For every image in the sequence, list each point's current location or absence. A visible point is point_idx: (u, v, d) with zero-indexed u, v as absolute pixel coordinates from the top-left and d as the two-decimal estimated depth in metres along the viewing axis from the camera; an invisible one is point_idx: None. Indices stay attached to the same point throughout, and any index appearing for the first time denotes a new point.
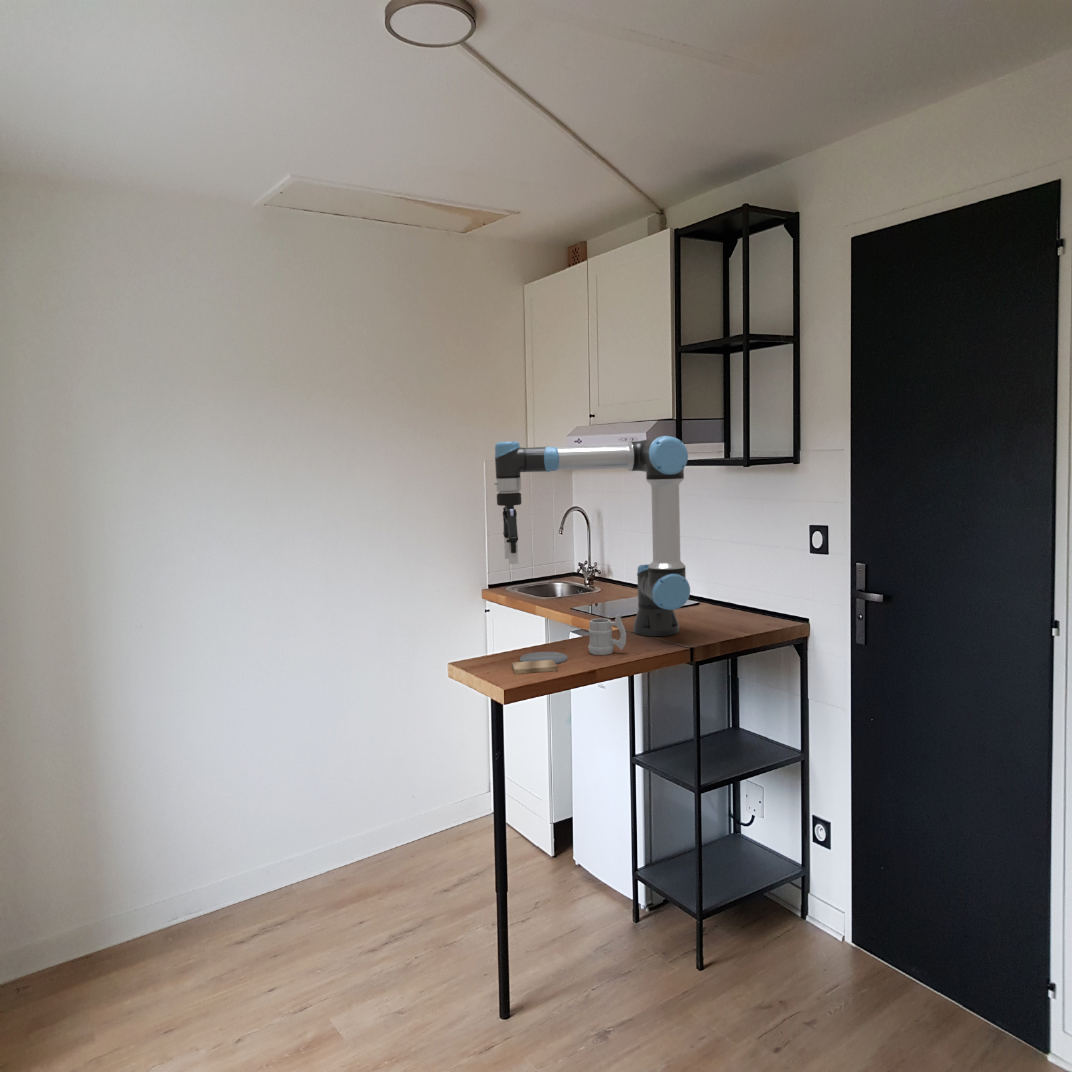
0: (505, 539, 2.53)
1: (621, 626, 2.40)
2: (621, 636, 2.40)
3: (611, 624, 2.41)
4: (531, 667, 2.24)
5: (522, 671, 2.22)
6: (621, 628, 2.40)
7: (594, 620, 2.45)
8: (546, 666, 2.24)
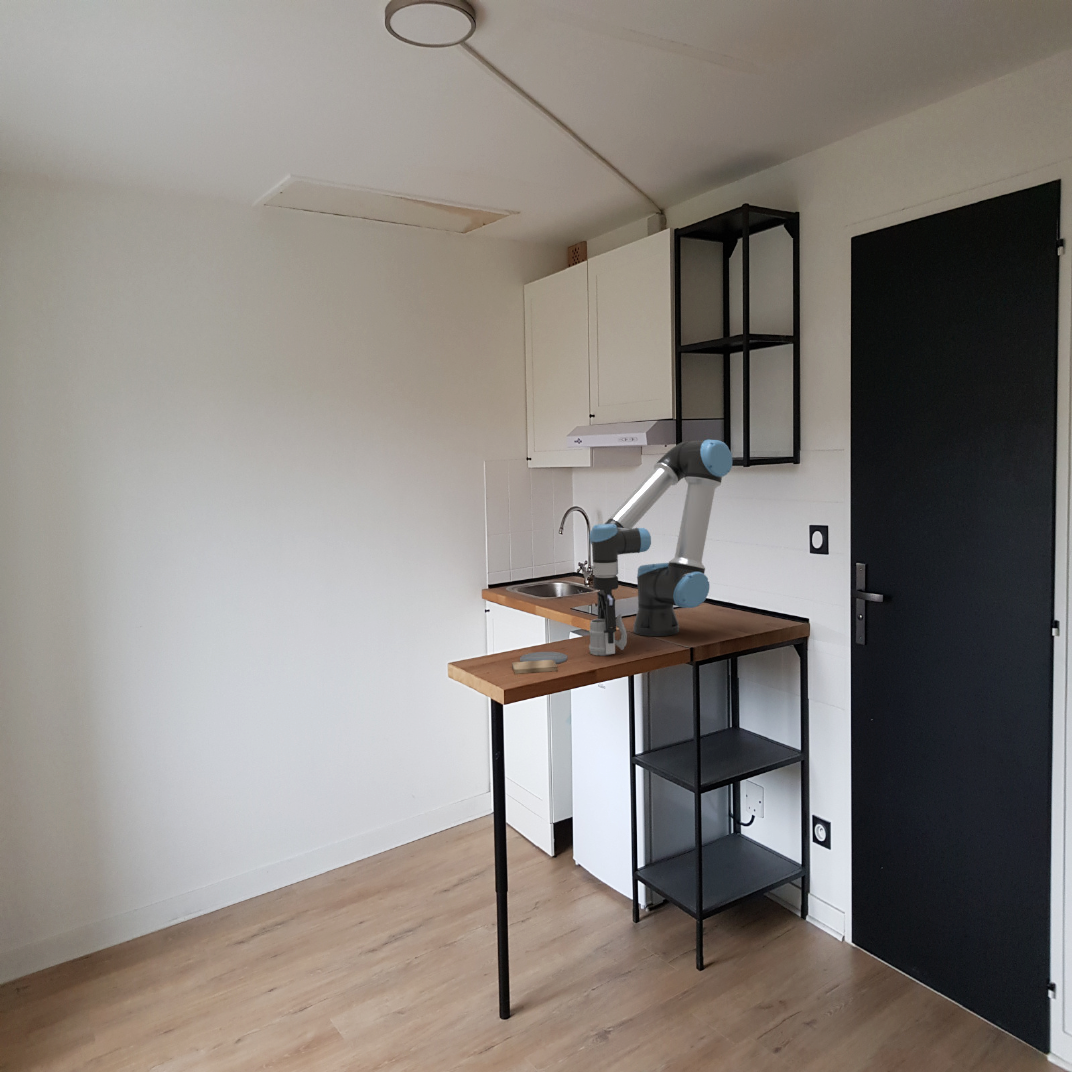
0: None
1: (622, 626, 2.39)
2: (622, 636, 2.40)
3: None
4: (531, 667, 2.24)
5: (522, 671, 2.22)
6: (622, 629, 2.39)
7: (594, 620, 2.44)
8: (546, 666, 2.24)
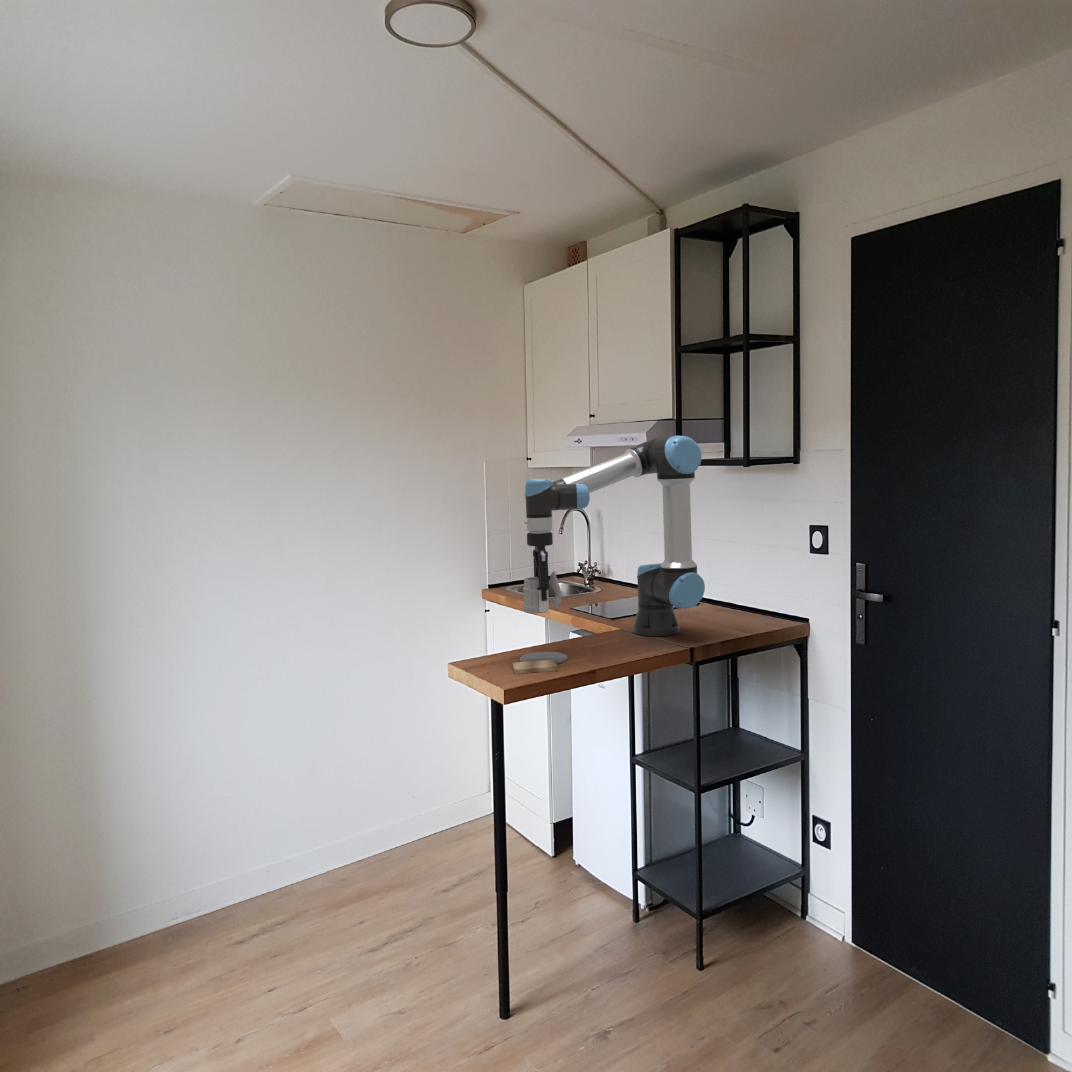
0: None
1: (556, 583, 2.32)
2: (556, 594, 2.33)
3: None
4: (531, 667, 2.24)
5: (522, 671, 2.22)
6: (556, 586, 2.33)
7: (529, 578, 2.37)
8: (546, 666, 2.24)
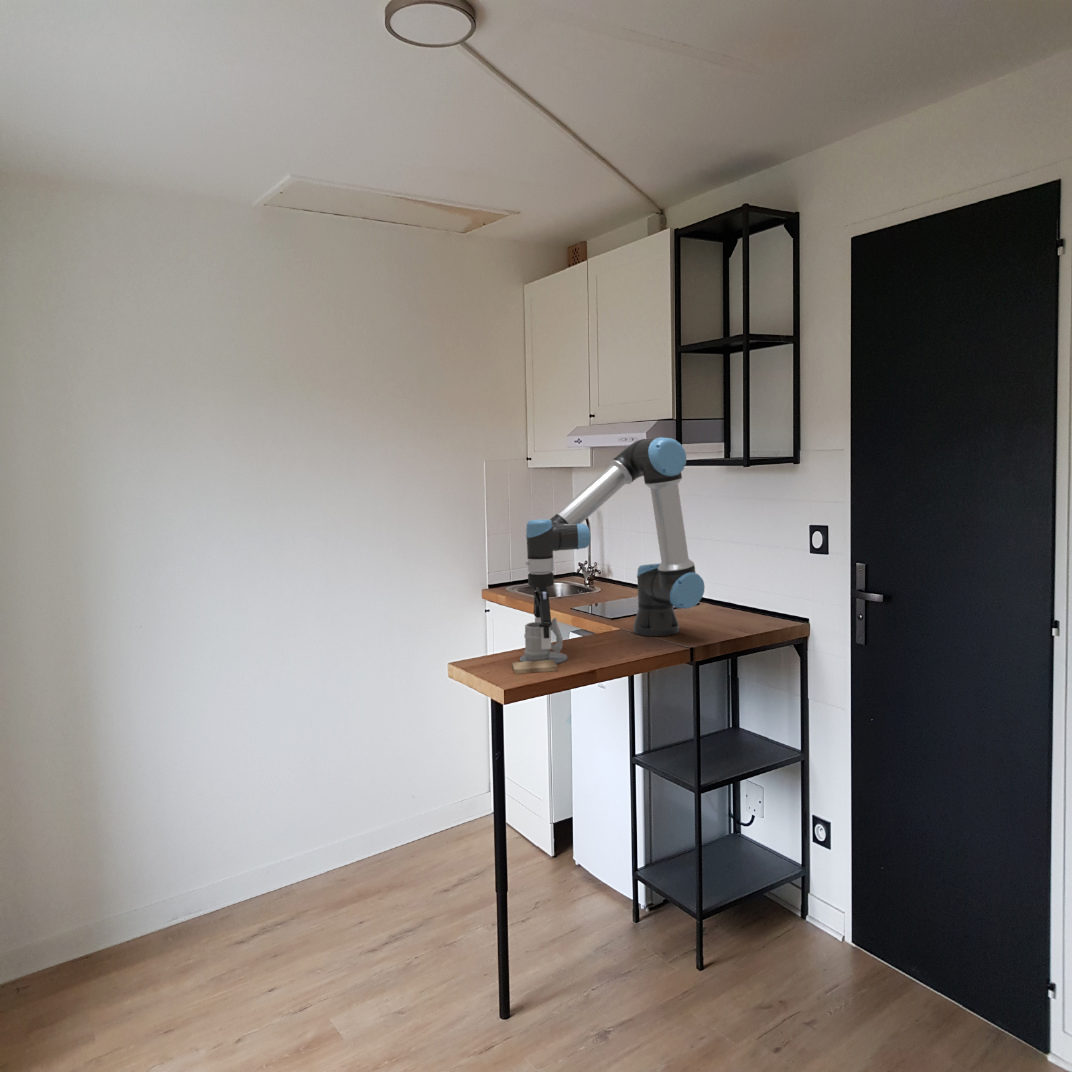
0: (536, 619, 2.42)
1: (557, 630, 2.33)
2: (557, 640, 2.34)
3: None
4: (531, 667, 2.24)
5: (522, 671, 2.22)
6: (557, 633, 2.33)
7: (530, 624, 2.38)
8: (546, 666, 2.24)
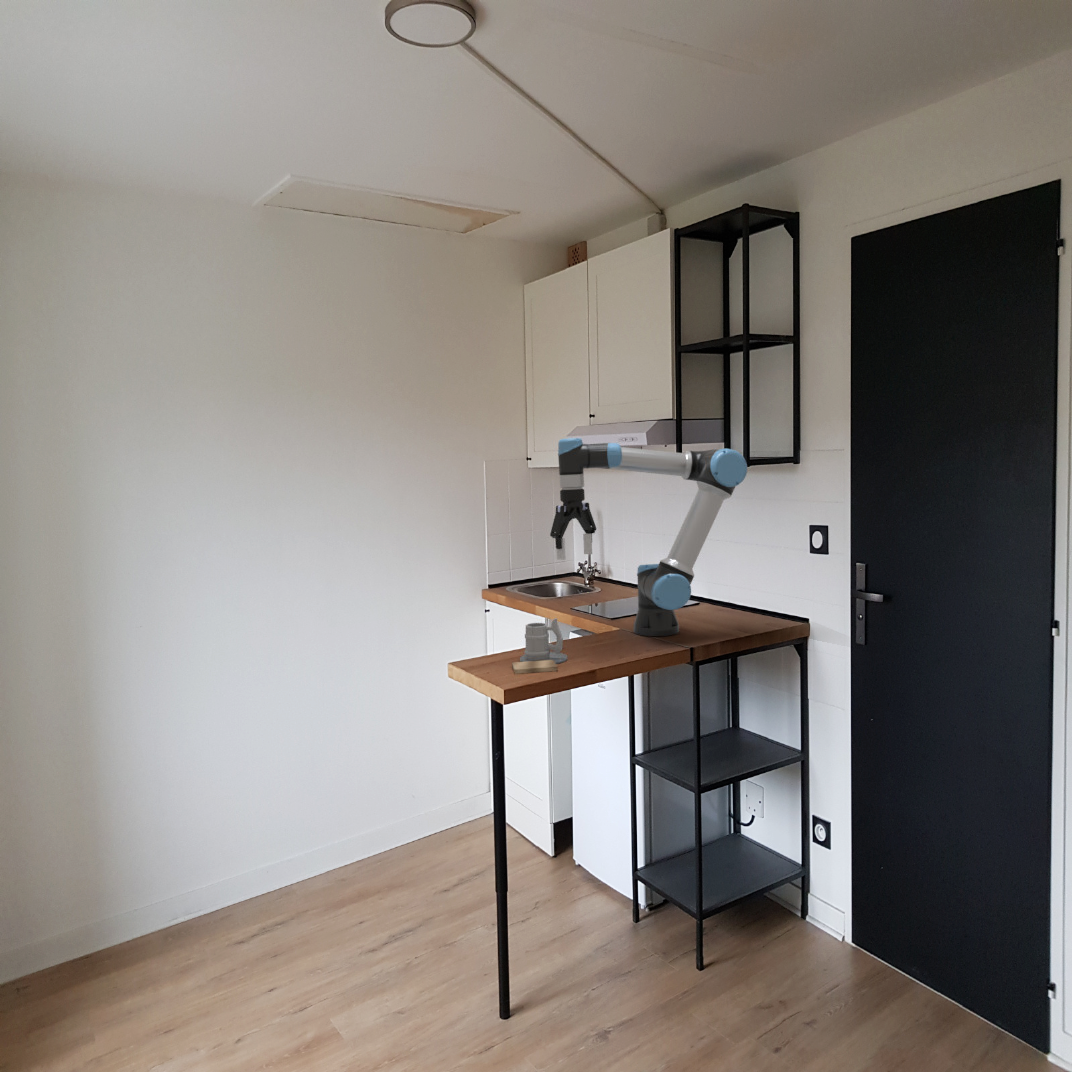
0: (584, 534, 2.54)
1: (557, 630, 2.34)
2: (557, 641, 2.34)
3: (547, 628, 2.35)
4: (531, 667, 2.24)
5: (522, 671, 2.22)
6: (557, 633, 2.34)
7: (530, 624, 2.38)
8: (546, 666, 2.24)
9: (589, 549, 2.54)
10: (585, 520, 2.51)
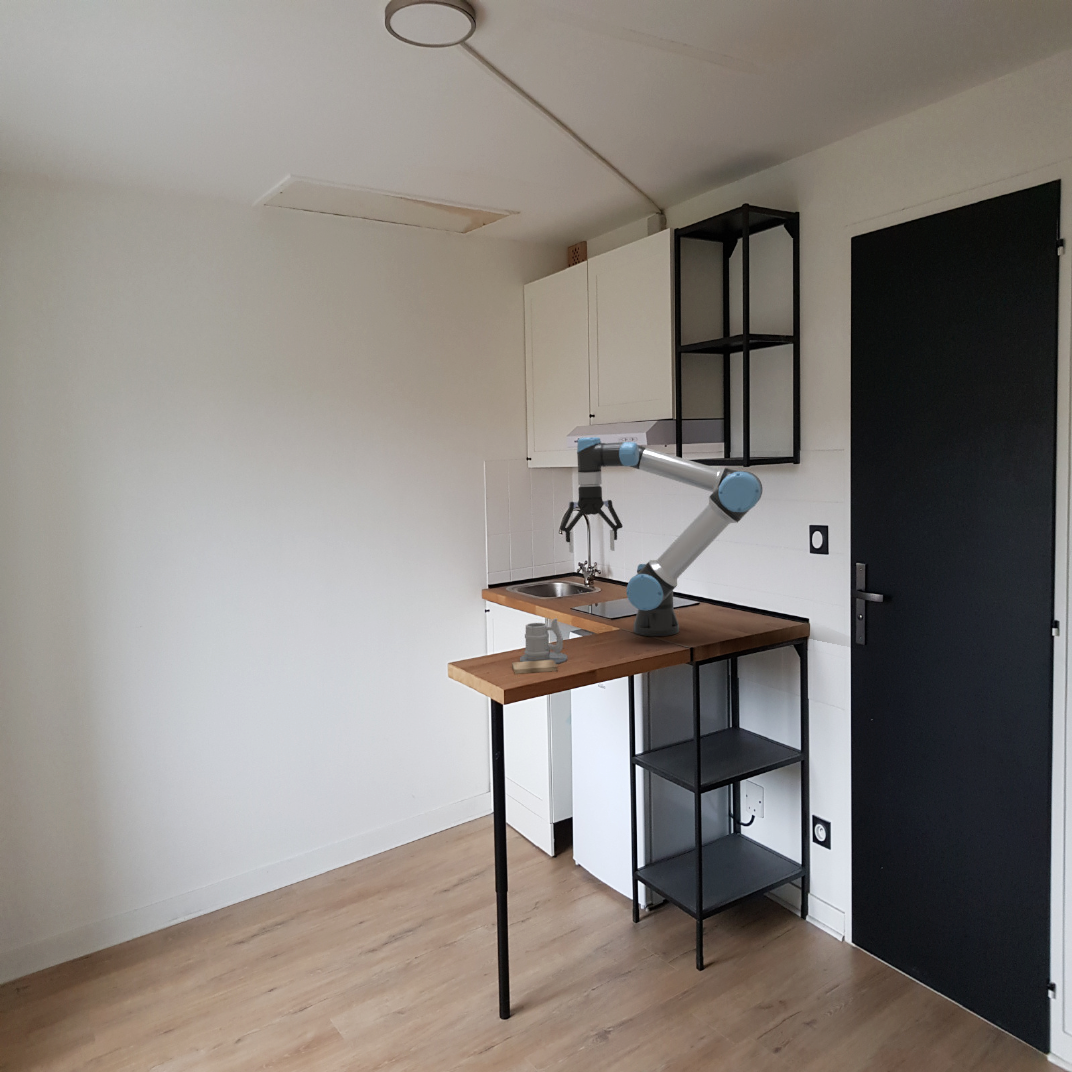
0: (610, 531, 2.61)
1: (557, 630, 2.34)
2: (557, 641, 2.34)
3: (547, 628, 2.35)
4: (531, 667, 2.24)
5: (522, 671, 2.22)
6: (557, 633, 2.34)
7: (530, 624, 2.38)
8: (546, 666, 2.24)
9: (611, 545, 2.60)
10: (605, 517, 2.58)
